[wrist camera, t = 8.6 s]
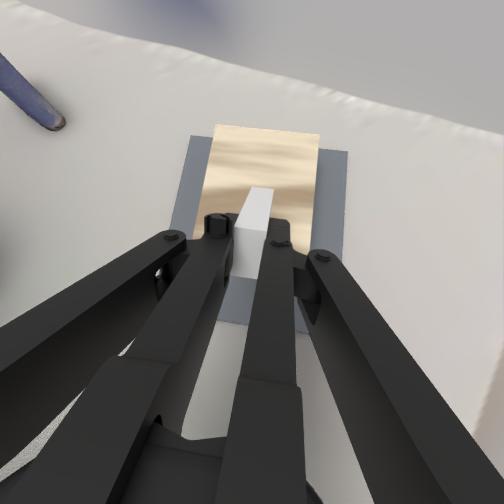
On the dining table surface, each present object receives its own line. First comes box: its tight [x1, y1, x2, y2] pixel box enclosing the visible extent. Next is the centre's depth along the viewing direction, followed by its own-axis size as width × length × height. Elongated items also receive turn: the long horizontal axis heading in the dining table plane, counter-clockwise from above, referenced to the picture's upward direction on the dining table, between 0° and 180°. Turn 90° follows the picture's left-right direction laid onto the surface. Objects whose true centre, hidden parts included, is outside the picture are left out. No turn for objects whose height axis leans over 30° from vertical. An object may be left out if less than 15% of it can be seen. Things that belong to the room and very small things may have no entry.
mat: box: [159, 135, 348, 334], centre depth 26 cm, size 20×18×1 cm
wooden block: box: [192, 124, 320, 255], centre depth 24 cm, size 4×10×12 cm
